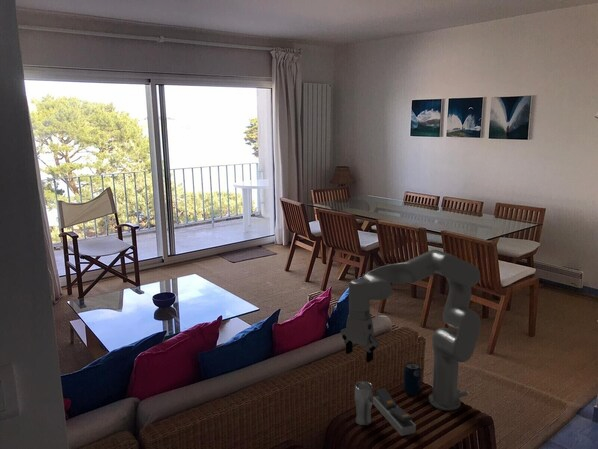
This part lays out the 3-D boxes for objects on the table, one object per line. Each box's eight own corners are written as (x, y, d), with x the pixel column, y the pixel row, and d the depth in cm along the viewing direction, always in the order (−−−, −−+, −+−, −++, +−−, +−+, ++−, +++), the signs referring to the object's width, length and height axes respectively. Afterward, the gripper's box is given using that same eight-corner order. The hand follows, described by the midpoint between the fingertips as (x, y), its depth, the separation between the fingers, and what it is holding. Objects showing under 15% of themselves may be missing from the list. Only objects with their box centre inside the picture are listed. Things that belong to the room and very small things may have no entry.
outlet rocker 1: (384, 390, 197) (384, 387, 197) (396, 406, 188) (396, 404, 188) (375, 392, 196) (376, 389, 196) (387, 408, 187) (387, 406, 187)
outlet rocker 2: (399, 410, 186) (399, 406, 186) (413, 419, 177) (412, 416, 177) (390, 411, 185) (389, 408, 185) (403, 421, 175) (403, 418, 175)
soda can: (422, 395, 203) (423, 368, 201) (406, 396, 202) (407, 369, 200) (416, 386, 210) (417, 361, 207) (401, 388, 209) (402, 362, 207)
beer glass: (372, 427, 181) (372, 390, 178) (353, 425, 182) (353, 389, 180) (373, 417, 188) (373, 381, 185) (355, 415, 189) (355, 380, 186)
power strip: (372, 403, 197) (372, 396, 197) (385, 401, 199) (386, 394, 198) (401, 436, 176) (401, 428, 175) (415, 432, 177) (415, 425, 177)
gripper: (384, 316, 171) (384, 361, 174) (347, 305, 184) (348, 346, 187) (371, 322, 166) (371, 368, 169) (334, 310, 179) (335, 353, 182)
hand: (359, 356), depth 178 cm, fingers open, 9 cm apart
